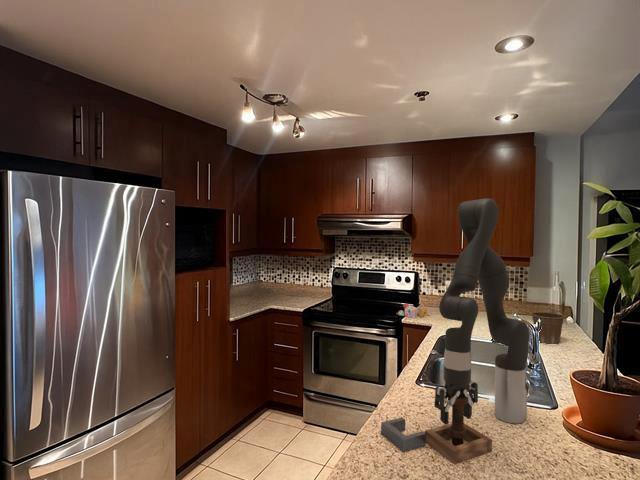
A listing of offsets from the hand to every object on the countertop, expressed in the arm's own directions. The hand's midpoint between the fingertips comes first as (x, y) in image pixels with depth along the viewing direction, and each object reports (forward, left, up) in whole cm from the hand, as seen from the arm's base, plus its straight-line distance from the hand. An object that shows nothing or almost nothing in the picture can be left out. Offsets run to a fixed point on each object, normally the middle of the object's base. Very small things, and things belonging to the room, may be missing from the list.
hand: (456, 420), depth 113 cm
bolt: (0, 0, -8) cm, 8 cm away
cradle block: (+12, -10, -8) cm, 17 cm away
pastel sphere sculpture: (-100, -146, -9) cm, 177 cm away
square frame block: (0, 0, -8) cm, 8 cm away
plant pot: (-125, -59, -8) cm, 139 cm away
